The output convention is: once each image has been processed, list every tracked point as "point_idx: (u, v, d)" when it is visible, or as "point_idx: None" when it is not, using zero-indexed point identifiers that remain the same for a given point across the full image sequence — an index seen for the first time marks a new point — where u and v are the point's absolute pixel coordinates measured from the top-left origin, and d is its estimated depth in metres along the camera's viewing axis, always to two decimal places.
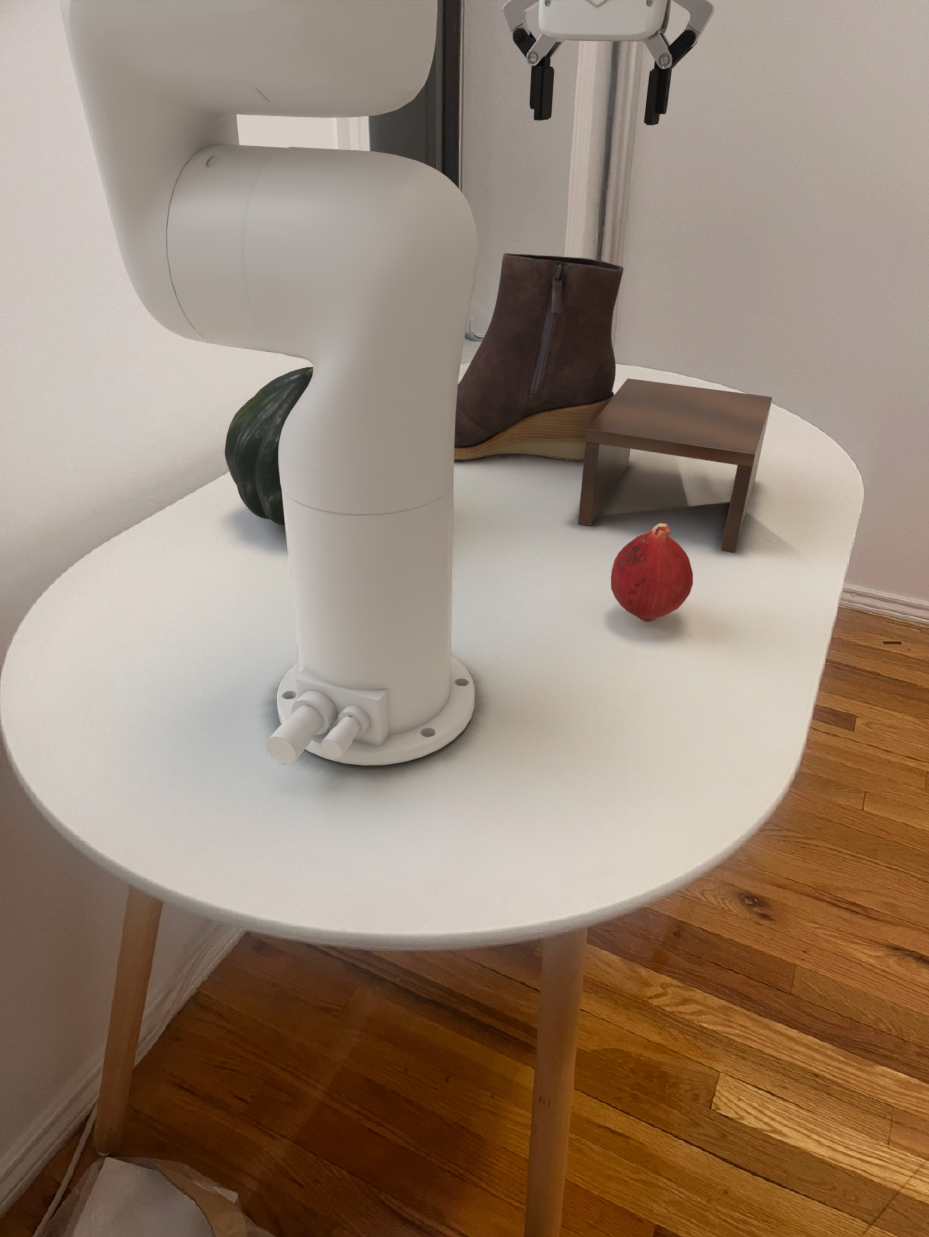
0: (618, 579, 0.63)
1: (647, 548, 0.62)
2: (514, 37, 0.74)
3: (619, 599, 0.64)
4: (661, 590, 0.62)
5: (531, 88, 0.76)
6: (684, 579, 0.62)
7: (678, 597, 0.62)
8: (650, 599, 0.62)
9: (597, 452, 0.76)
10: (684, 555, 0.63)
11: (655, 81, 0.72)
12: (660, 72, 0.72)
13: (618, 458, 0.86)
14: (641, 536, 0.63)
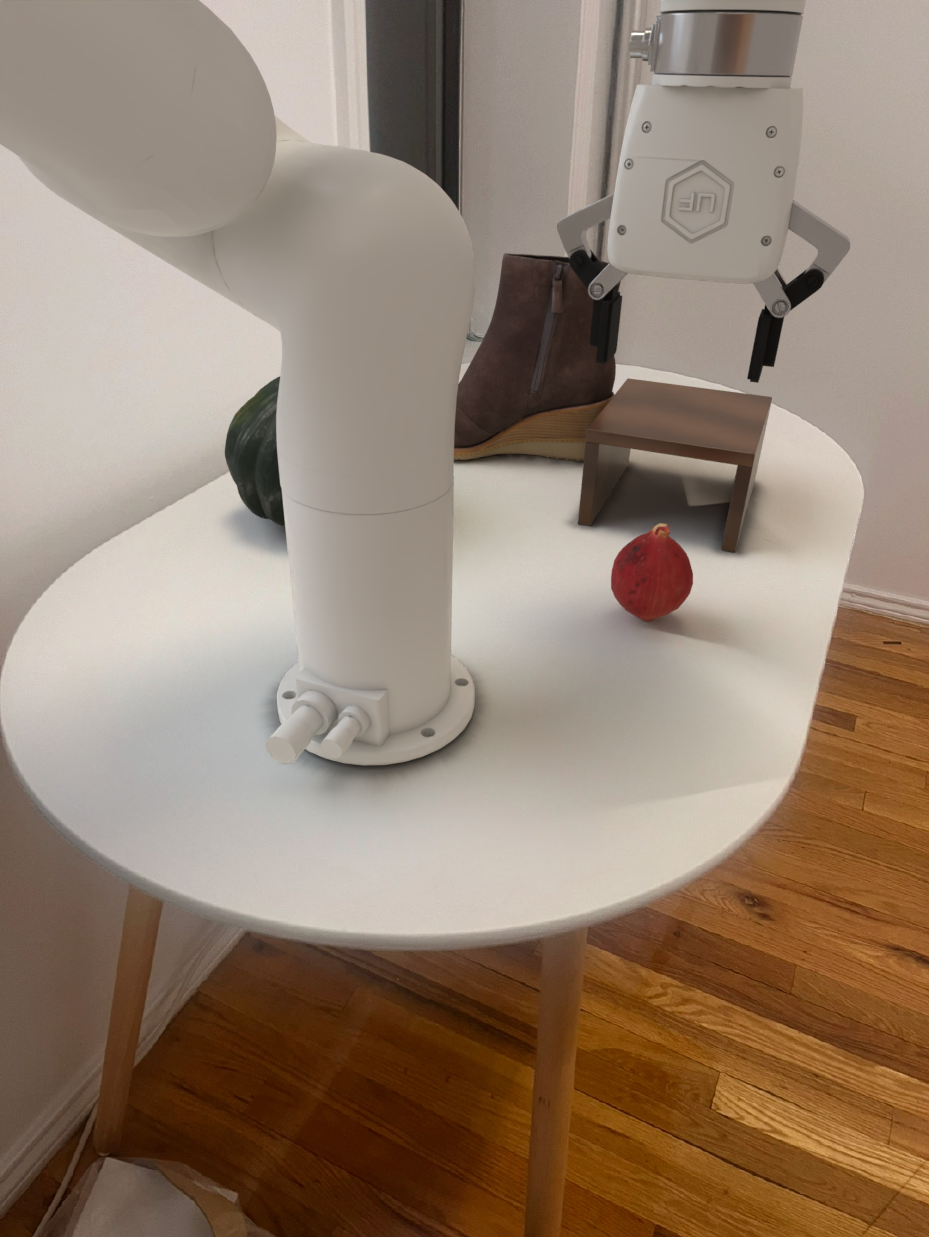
0: (618, 579, 0.63)
1: (647, 548, 0.62)
2: (571, 262, 0.56)
3: (619, 599, 0.64)
4: (661, 590, 0.62)
5: (593, 324, 0.57)
6: (684, 579, 0.62)
7: (678, 597, 0.62)
8: (650, 599, 0.62)
9: (597, 452, 0.76)
10: (684, 555, 0.63)
11: (766, 332, 0.53)
12: (772, 319, 0.53)
13: (618, 458, 0.86)
14: (641, 536, 0.63)
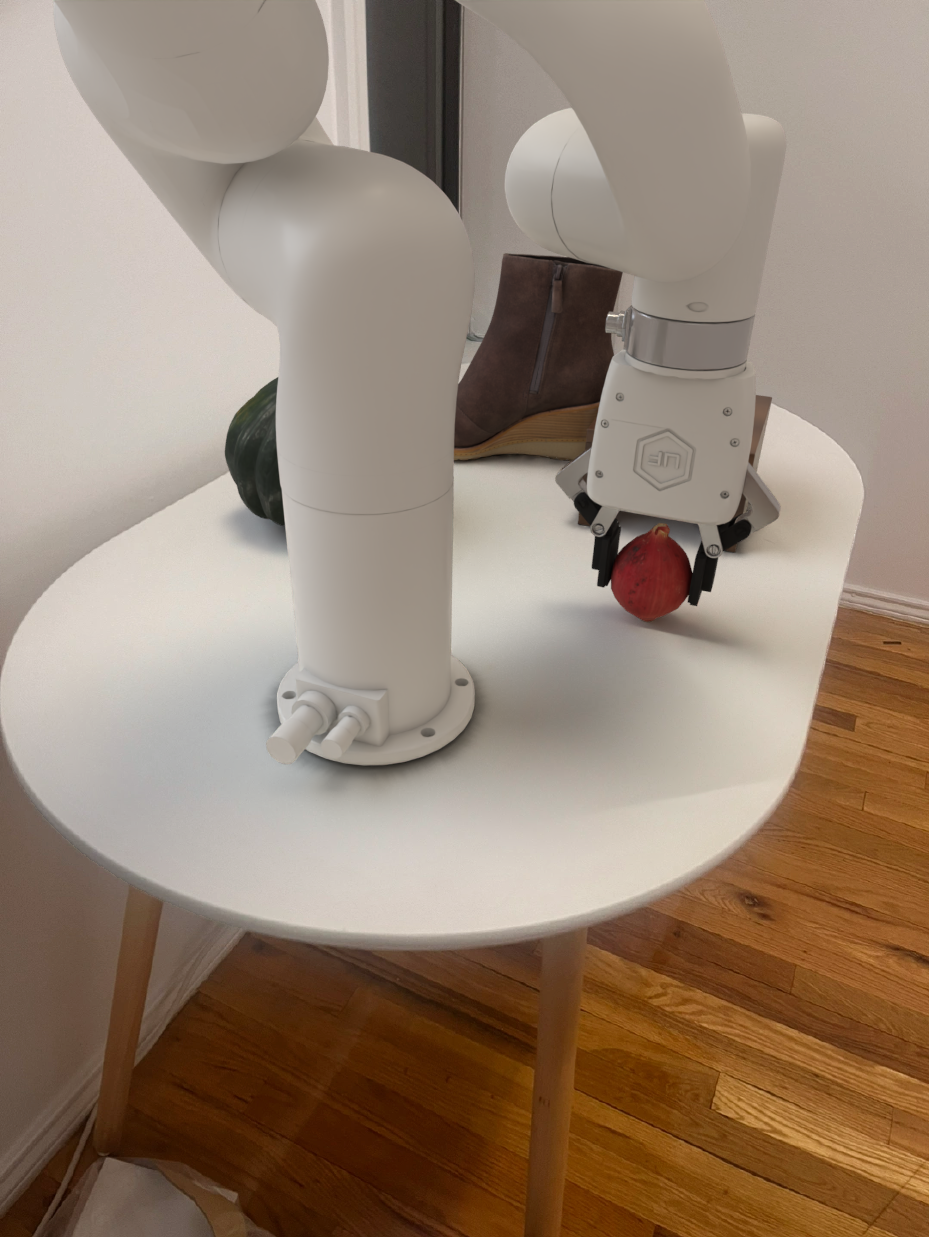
0: (617, 579, 0.63)
1: (646, 548, 0.62)
2: (576, 503, 0.63)
3: (619, 599, 0.64)
4: (661, 590, 0.62)
5: (594, 553, 0.64)
6: (684, 579, 0.62)
7: (678, 597, 0.62)
8: (649, 599, 0.62)
9: None
10: (684, 555, 0.63)
11: (702, 569, 0.61)
12: (708, 556, 0.61)
13: None
14: (641, 536, 0.63)
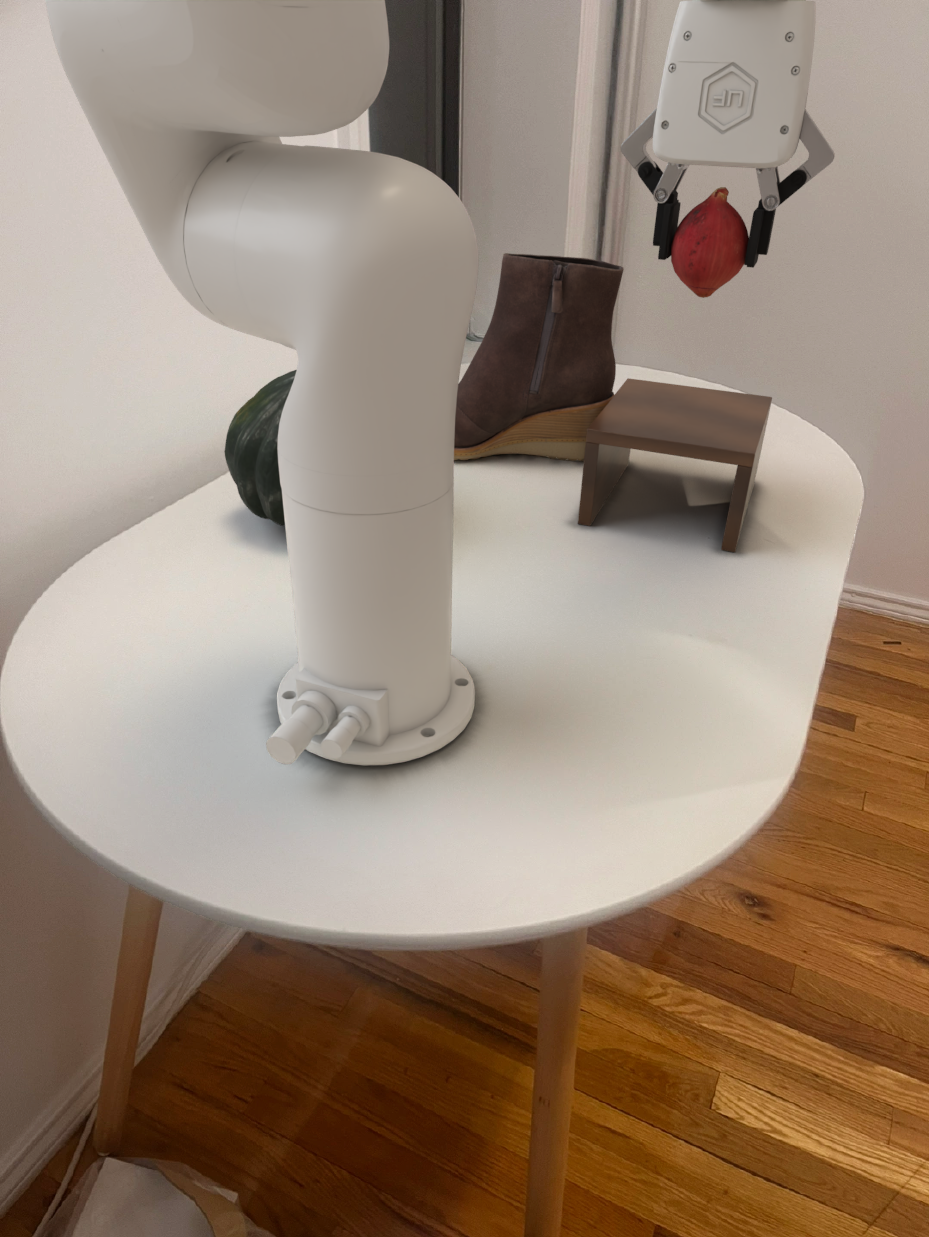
0: (679, 244, 0.67)
1: (707, 209, 0.66)
2: (640, 171, 0.67)
3: (679, 266, 0.68)
4: (721, 247, 0.66)
5: (656, 225, 0.69)
6: (742, 239, 0.66)
7: (736, 257, 0.67)
8: (709, 257, 0.66)
9: (597, 452, 0.76)
10: (741, 218, 0.67)
11: (759, 223, 0.65)
12: (765, 213, 0.65)
13: (618, 458, 0.86)
14: (701, 203, 0.67)
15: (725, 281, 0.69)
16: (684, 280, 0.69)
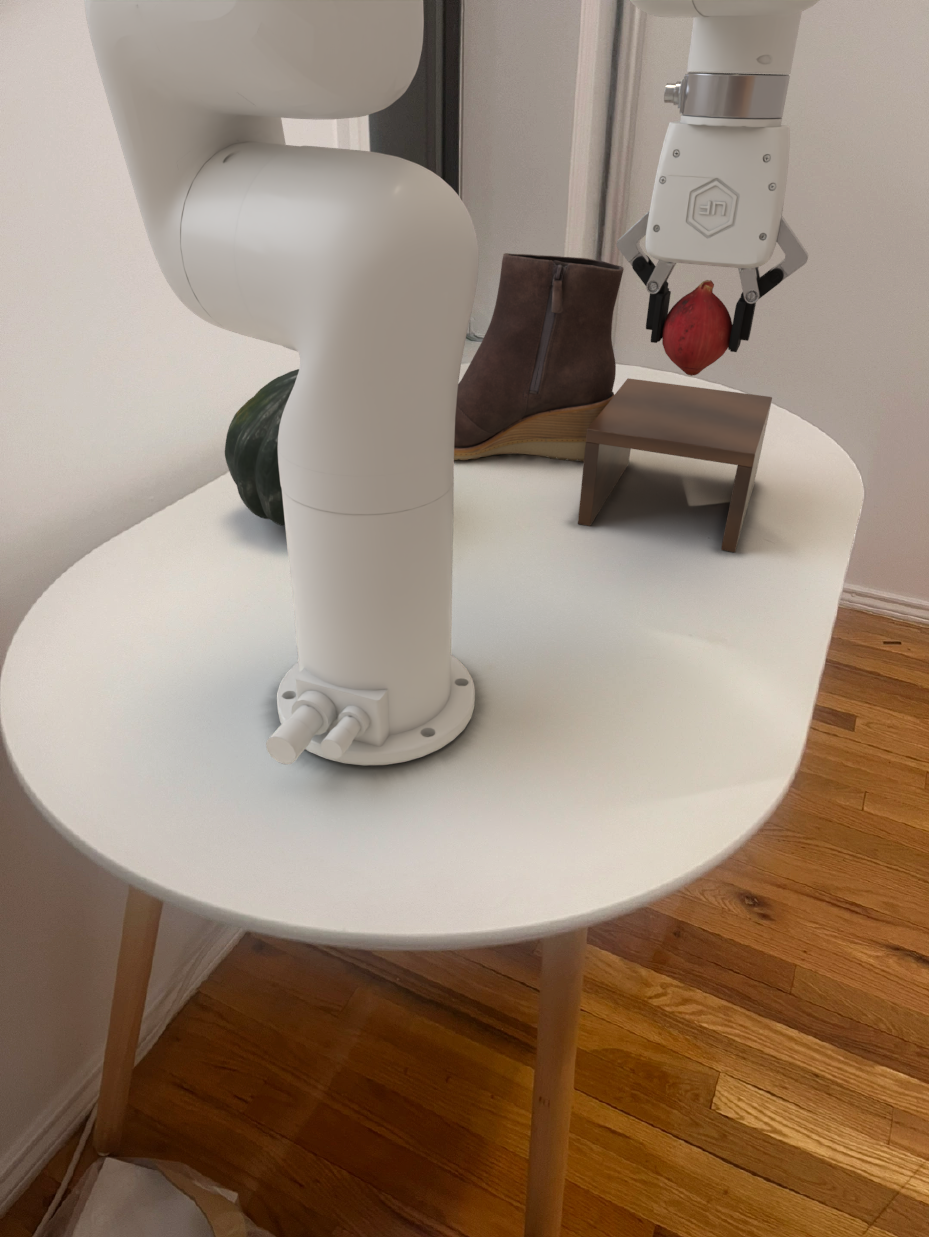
0: (669, 330, 0.75)
1: (694, 300, 0.73)
2: (634, 265, 0.74)
3: (670, 349, 0.75)
4: (707, 335, 0.73)
5: (648, 312, 0.76)
6: (726, 326, 0.74)
7: (721, 343, 0.74)
8: (697, 343, 0.74)
9: (597, 452, 0.76)
10: (725, 308, 0.74)
11: (741, 314, 0.72)
12: (746, 304, 0.73)
13: (618, 458, 0.86)
14: (689, 293, 0.75)
15: (711, 362, 0.76)
16: (674, 361, 0.76)
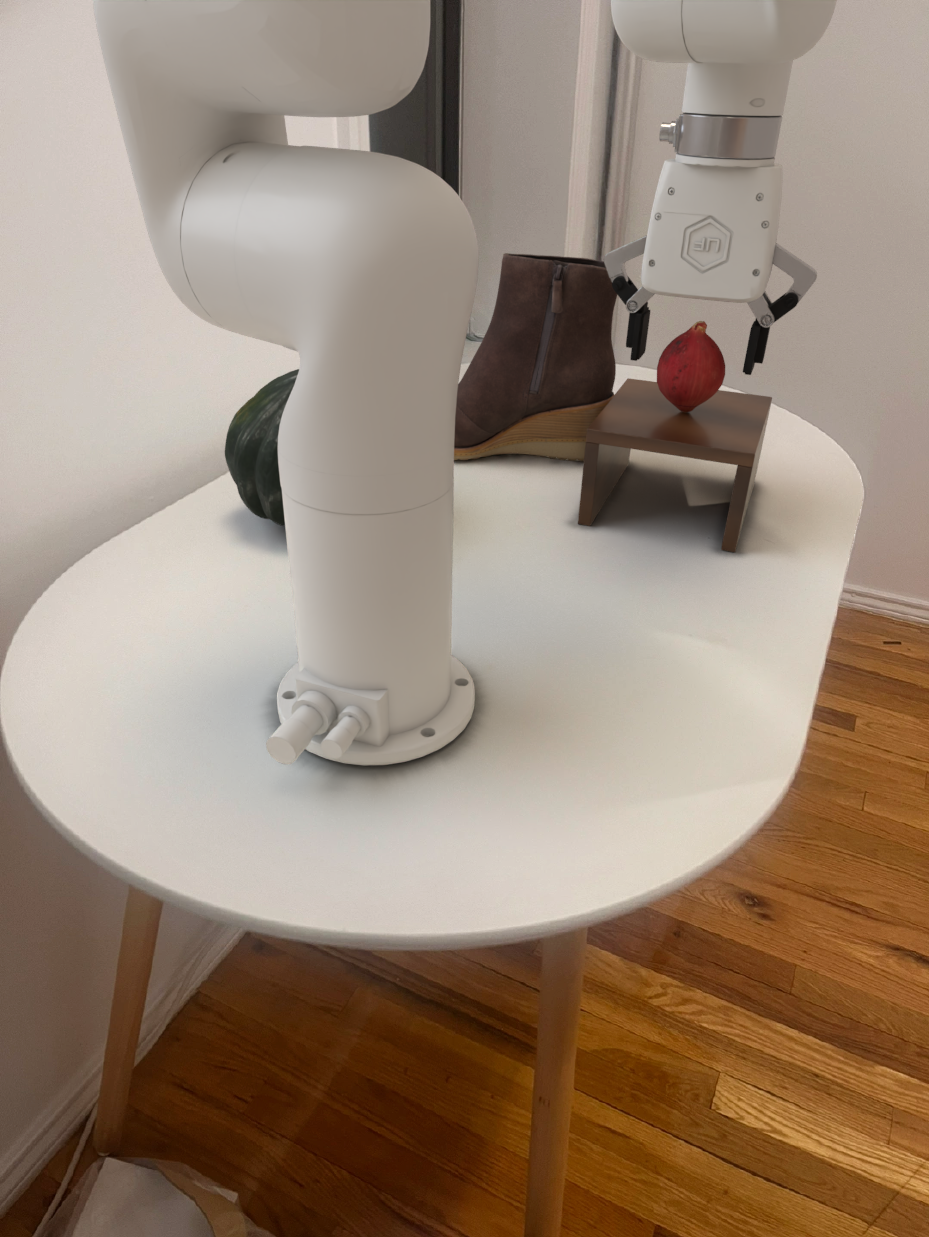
0: (663, 370, 0.76)
1: (688, 340, 0.75)
2: (614, 285, 0.76)
3: (664, 388, 0.77)
4: (700, 374, 0.75)
5: (628, 330, 0.77)
6: (718, 366, 0.75)
7: (714, 382, 0.76)
8: (690, 383, 0.75)
9: (597, 452, 0.76)
10: (718, 348, 0.76)
11: (756, 338, 0.73)
12: (761, 328, 0.73)
13: (618, 458, 0.86)
14: (682, 333, 0.76)
15: (704, 400, 0.77)
16: (668, 399, 0.78)
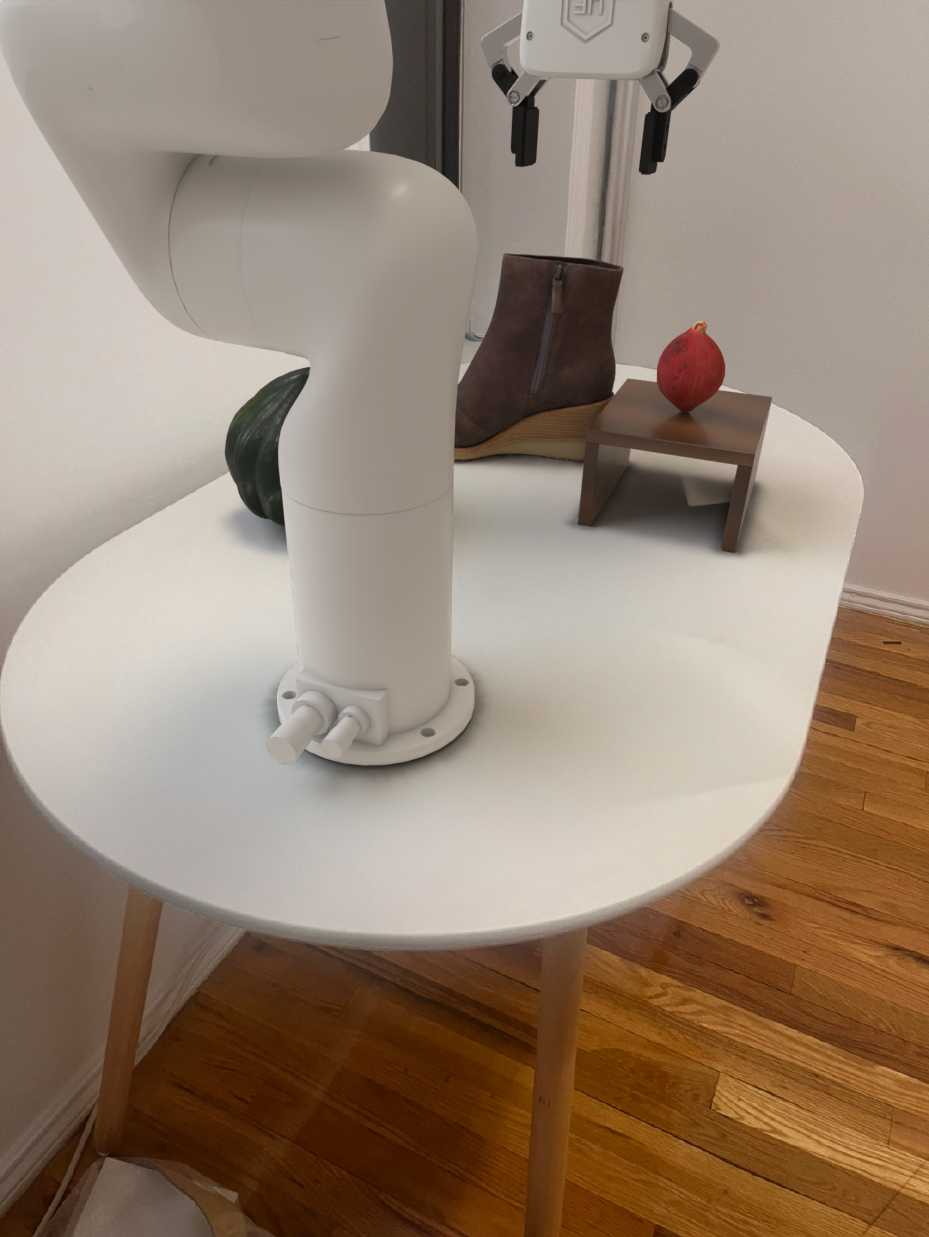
0: (663, 370, 0.76)
1: (687, 340, 0.75)
2: (493, 74, 0.66)
3: (664, 388, 0.77)
4: (700, 374, 0.75)
5: (512, 131, 0.67)
6: (718, 366, 0.75)
7: (714, 382, 0.76)
8: (690, 383, 0.75)
9: (597, 452, 0.76)
10: (718, 348, 0.76)
11: (651, 126, 0.63)
12: (657, 115, 0.63)
13: (618, 458, 0.86)
14: (682, 333, 0.76)
15: (704, 400, 0.77)
16: (668, 399, 0.78)
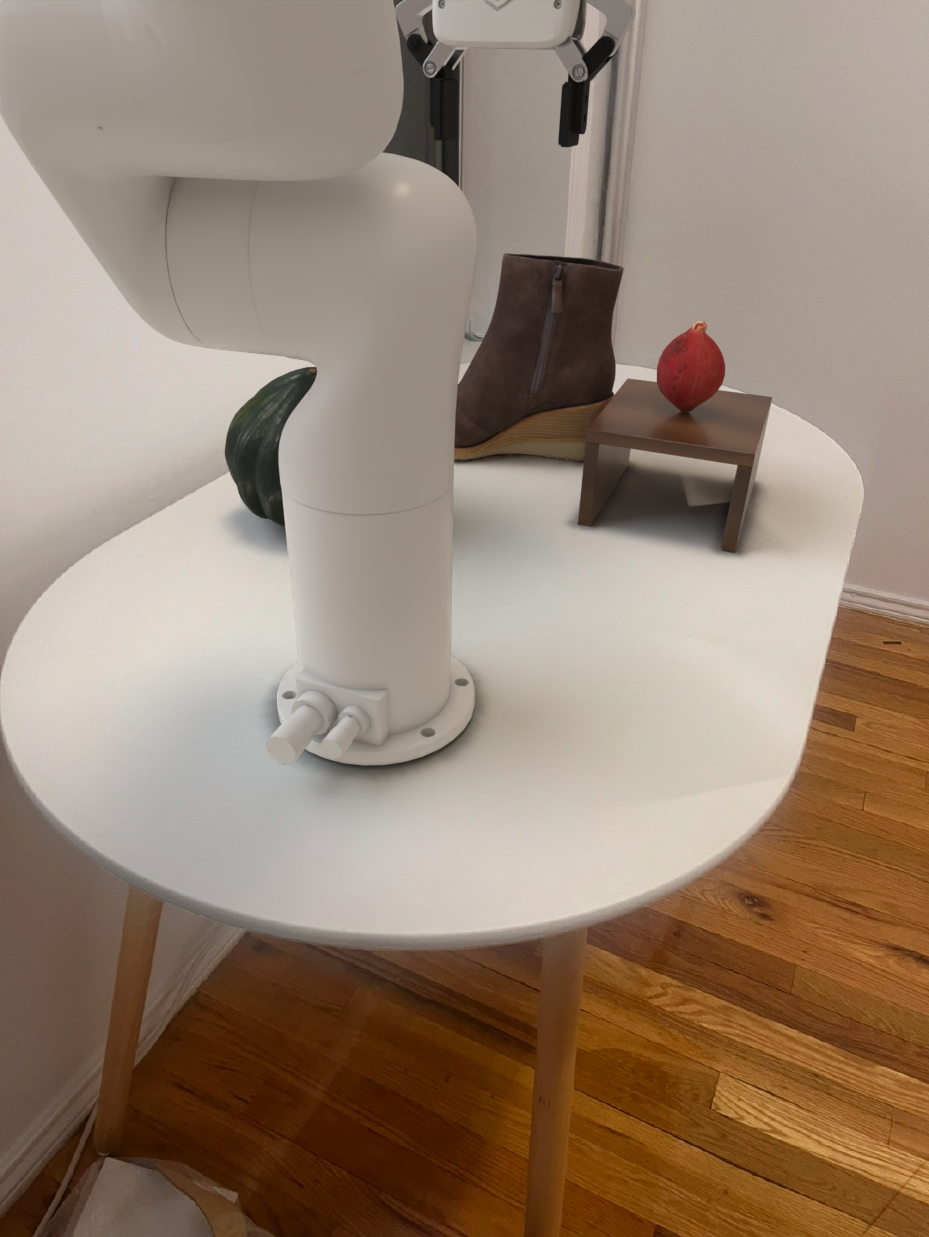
0: (663, 370, 0.76)
1: (687, 340, 0.75)
2: (408, 44, 0.64)
3: (664, 388, 0.77)
4: (700, 374, 0.75)
5: (431, 103, 0.65)
6: (718, 366, 0.75)
7: (714, 382, 0.76)
8: (690, 383, 0.75)
9: (597, 452, 0.76)
10: (718, 348, 0.76)
11: (569, 96, 0.61)
12: (575, 85, 0.61)
13: (618, 458, 0.86)
14: (682, 333, 0.76)
15: (704, 400, 0.77)
16: (668, 399, 0.78)
